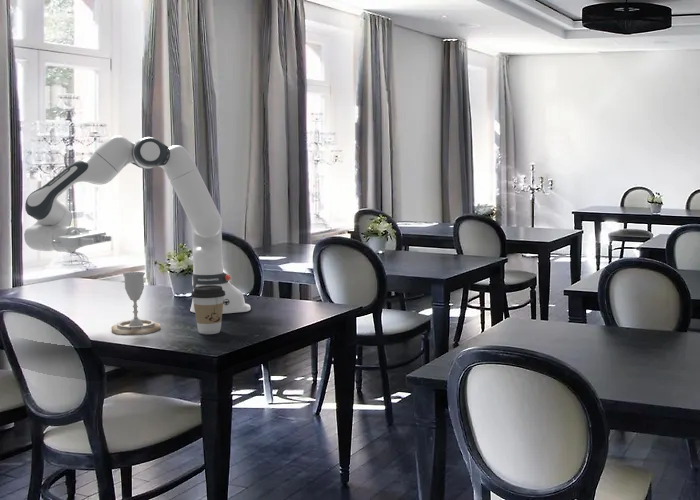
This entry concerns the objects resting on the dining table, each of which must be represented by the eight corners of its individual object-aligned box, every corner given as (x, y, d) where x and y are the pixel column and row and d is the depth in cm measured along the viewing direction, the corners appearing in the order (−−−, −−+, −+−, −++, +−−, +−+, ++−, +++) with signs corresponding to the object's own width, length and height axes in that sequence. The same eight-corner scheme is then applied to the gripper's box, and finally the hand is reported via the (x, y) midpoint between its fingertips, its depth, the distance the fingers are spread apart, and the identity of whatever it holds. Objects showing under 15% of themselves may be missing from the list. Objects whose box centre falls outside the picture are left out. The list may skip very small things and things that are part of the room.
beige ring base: (160, 323, 297) (160, 317, 296) (160, 333, 281) (160, 326, 281) (113, 326, 293) (112, 319, 293) (110, 336, 278) (109, 329, 277)
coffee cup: (201, 337, 275) (200, 291, 273) (186, 331, 284) (184, 287, 282) (232, 332, 281) (231, 287, 279) (216, 326, 290) (215, 283, 289)
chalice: (149, 323, 290) (146, 271, 288) (145, 327, 284) (142, 274, 282) (127, 324, 290) (125, 272, 288) (122, 328, 283) (120, 275, 281)
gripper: (47, 233, 283) (83, 234, 278) (84, 227, 302) (118, 228, 298) (48, 251, 283) (84, 253, 279) (85, 245, 303) (119, 246, 299)
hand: (102, 240), depth 289 cm, fingers open, 8 cm apart
